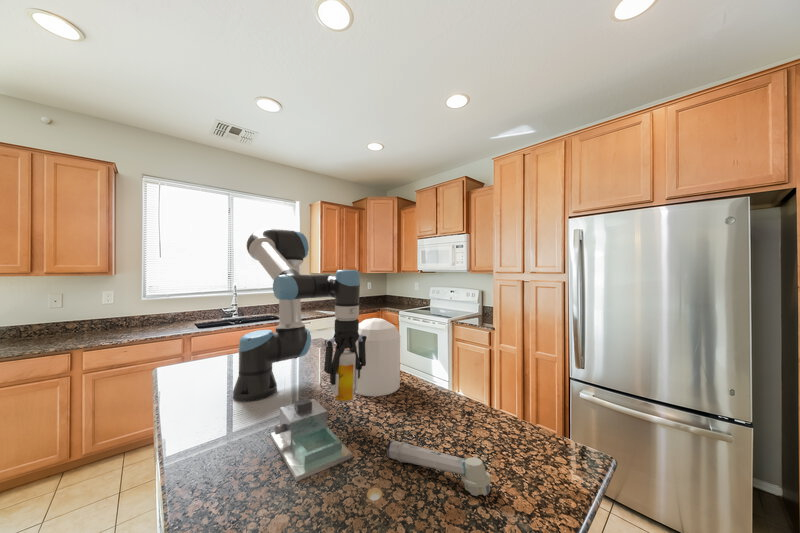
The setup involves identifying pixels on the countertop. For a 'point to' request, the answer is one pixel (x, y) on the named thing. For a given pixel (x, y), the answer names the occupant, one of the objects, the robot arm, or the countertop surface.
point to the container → (379, 358)
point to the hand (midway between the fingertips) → (345, 391)
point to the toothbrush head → (444, 465)
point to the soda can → (346, 377)
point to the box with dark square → (307, 439)
